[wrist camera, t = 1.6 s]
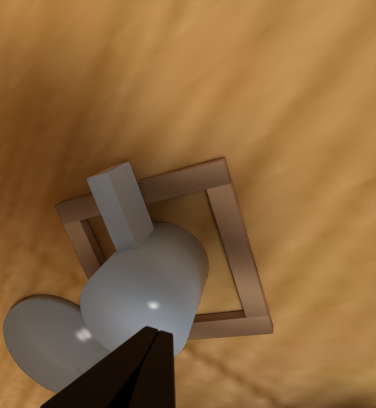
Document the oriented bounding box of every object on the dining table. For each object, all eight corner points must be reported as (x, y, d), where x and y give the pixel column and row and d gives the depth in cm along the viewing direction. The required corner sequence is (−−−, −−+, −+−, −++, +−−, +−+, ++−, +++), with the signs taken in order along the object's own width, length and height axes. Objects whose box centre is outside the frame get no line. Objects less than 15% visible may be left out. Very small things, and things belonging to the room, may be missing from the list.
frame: (273, 325, 22) (273, 333, 21) (122, 338, 26) (118, 345, 25) (224, 156, 18) (223, 159, 18) (61, 202, 22) (54, 205, 22)
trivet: (134, 389, 28) (130, 397, 27) (41, 391, 31) (36, 398, 30) (86, 287, 25) (81, 293, 24) (-10, 302, 28) (-17, 307, 28)
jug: (221, 299, 22) (206, 367, 17) (144, 308, 24) (108, 372, 19) (171, 147, 19) (132, 169, 14) (88, 172, 21) (25, 200, 16)
